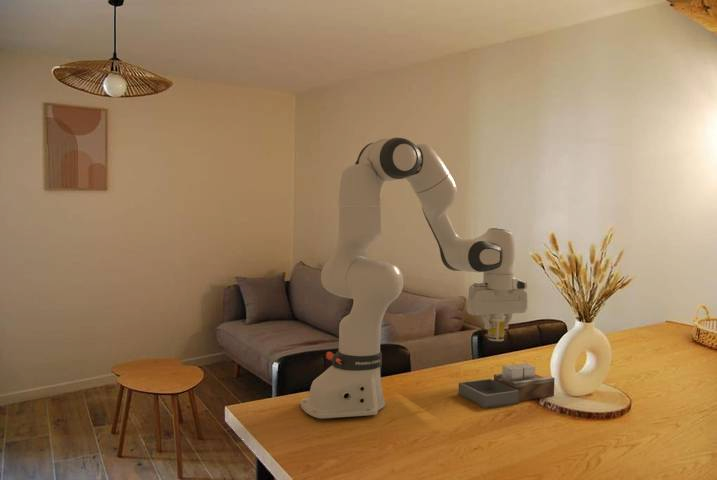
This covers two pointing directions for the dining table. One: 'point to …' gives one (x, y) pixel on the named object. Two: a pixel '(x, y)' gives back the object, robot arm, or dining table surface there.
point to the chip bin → (488, 393)
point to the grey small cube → (527, 371)
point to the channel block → (531, 387)
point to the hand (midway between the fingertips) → (496, 328)
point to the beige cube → (512, 373)
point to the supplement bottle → (496, 327)
